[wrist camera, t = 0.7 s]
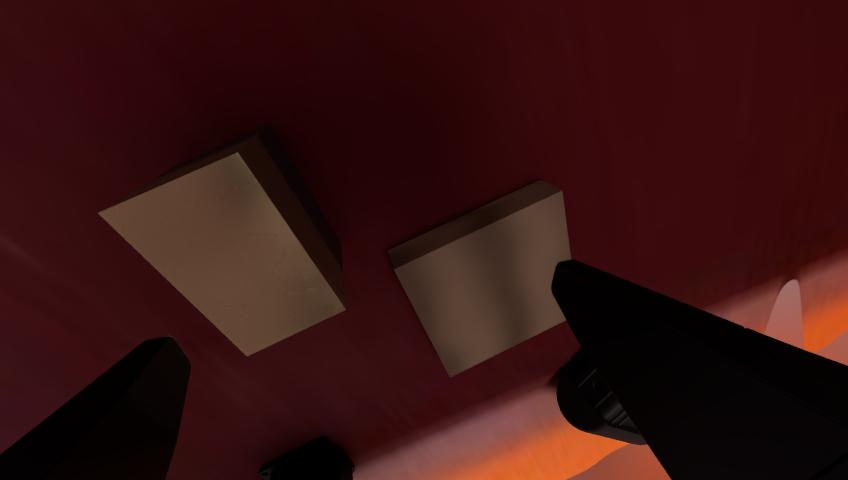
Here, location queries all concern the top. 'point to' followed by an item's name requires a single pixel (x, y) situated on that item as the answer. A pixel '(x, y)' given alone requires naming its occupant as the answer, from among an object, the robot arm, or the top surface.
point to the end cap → (593, 402)
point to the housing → (239, 240)
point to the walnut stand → (487, 275)
